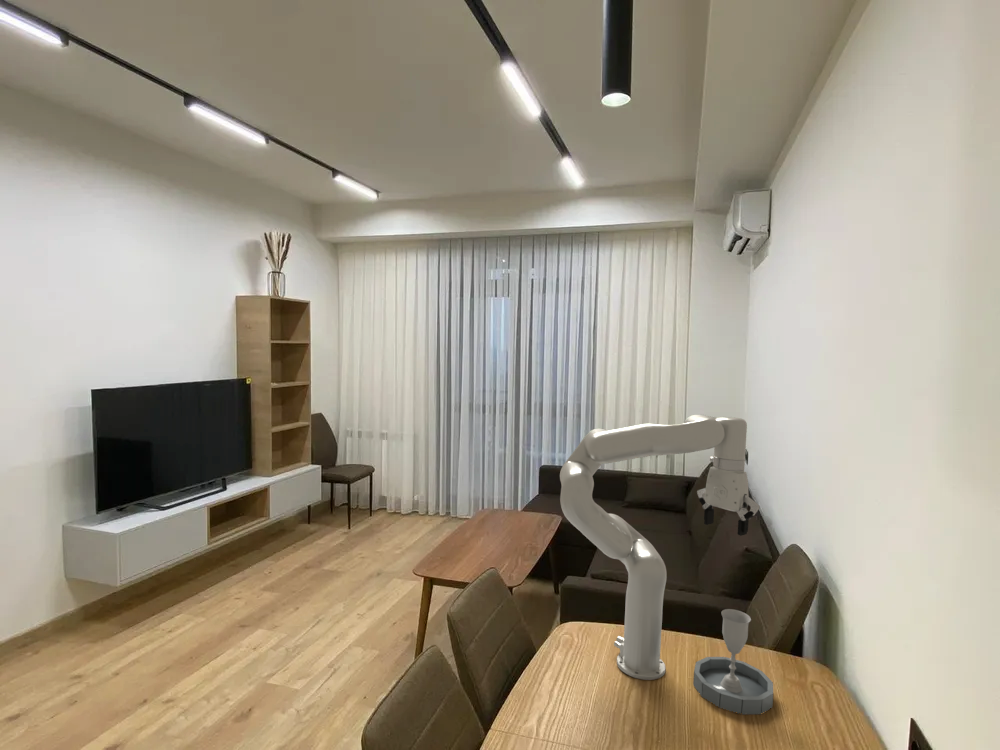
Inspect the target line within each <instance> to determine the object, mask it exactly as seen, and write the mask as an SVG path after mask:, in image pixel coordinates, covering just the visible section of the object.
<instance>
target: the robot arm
mask: <svg viewBox="0 0 1000 750" xmlns="http://www.w3.org/2000/svg"><path fill="white" fill-rule="evenodd" d="M747 429H748V425H747V421H746V420H745V419H743V418H740V417H732V416H720V417H717V416H710V415H706V414H705V415H704V414H692V415H690V416H687V418H686V419H685V420H684V421H683V423H680V424H679V423H678V424H655V423H641V424H637V425H636V424H635V425H631V426H626V427H621V428H615V429H610V430H609V429H608V430H607V429H604V428H600V427H599V428H594V429H591V430H590V431H589V432H588V433H587V434H586V435H584V437H583V439H582V440H581V441H580V443H579V444H578V445H577V447H575V449H574V450H573V451H572V453H571V454H570V456H569V457H568V458H567V459H566V461H565V462H564V463H563V465H562V467H561V469H560V470H559V471H560V473H559V481H560V484H561V488H560V496H559V500H560V507H561V510H562V513H563V515H564V517H565V518H566V520H568V522H570V524H571V525H572V526H573V527H575V528H576V529H577V530H578V531H579V532H580V533H581V534H582V535H583V536H584V537H586V539H588V540H589V542H591V543H592V544H593V545H594V546H596V548H597V549H599V550H600V552H602V553H603V554H604V555H606V556H607V557H608V558H610V559H614V560H619V561H620V562H621V563H622V564H623V565H624V566H625V569H626V571H627V575H628V577H627V579H628V580H627V587H626V592H625V605H624V606H625V609H624V610H625V611H624V627H623V628H624V630H623V631H624V632H623V636H621V635H618V636H617V637H616V639H615V640H616V641H614V642H613V646H614V647H616V648H617V649H619V654H618V655H617V657H616V666H617V667H618V668H619V670H620V671H621V672H623V673H624V674H625V675H628V676H630V677H632V678H634V679H639V680H644V681H645V680H646V681H651V680H652V681H653V680H657V679H660V678H662V677H663V676H664V675H665V674H666V664H665V662H664V661H663V660H662V658H661V644H662V625H663V624H662V623H663V606H664V595H665V589H666V583H667V578H668V577H667V575H668V574H667V567H666V564H665V561H664V559H662V557H661V555H660V553H659V552H658V551H657V550H656V548H655V546H654V545H653V544H652V543H651V542H650V541H649V540H648V539H647V538H645V536H643V535H642V534H641V533H640V532H639V531H637V530H636V529H635V528H634V527H633V526H632V525H631V524H629V522H627V521H626V520H624V518H622V516H621V517H620V516H619V515H617V514H615V513H608V512H607V511H605V510H604V508H602V507H601V506H600V505H599V504H597V503H596V502H595V500H594V499H593V491H594V487H595V482H594V477H593V476H594V475H595V473H596V472H597V471H598V469H600V466H602V465H603V464H605V465H606V464H608V465H609V464H613V463H619V462H624V461H630V460H635V459H640V458H645V457H652V456H658V457H659V456H668V455H681V454H690V453H695V452H700V451H705V450H710V449H714V450H713V456H710V458H709V461H710V462H712V466H710V467H709V470H708V474H707V478H706V484H705V487H703V488H701V489H697V491H696V493H697V494H696V495H697V496H698V497H697V498H698V500H699V503H700V504H701V505H702V509H703V511H704V512H703V519H704V521H703V523H704V525H705V526H707V525H712V524H714V519H715V508H713V507H716V508H719V509H723V510H726V511H730V512H736V513H737V516H738V517H739V518H740V519H738V522H737V535H738V536H739V537H741V536H745V535H747V534H748V532H749V523H750V522H749V520H751V519H752V518H753V517H755V516H756V514H757V513H758V511H759V510H760V507H761V506H760V505H759V504H758V503H757V502H756V501H754V500H753V499H752V498H751V497H749V483H748V482H749V481H748V475H747V474H748V473H747V472H746V471H745V468H746V467H745V466H746V465H745V464H746V463H745V462H746V447H747V446H746V445H747V432H748V431H747ZM748 506H749V507H750V509H749V511H748Z"/></svg>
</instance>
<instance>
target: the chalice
mask: <svg viewBox="0 0 1000 750" xmlns="http://www.w3.org/2000/svg"><path fill="white" fill-rule="evenodd" d="M721 616H722V628H721V629H722V630H721V633H722V636H723V637H722V638H723V640H724V643H725V646H726V648H727V650H728V652H729V653H730V654H731V656H730V657H729V658H730V661H731V665H730V666H729V668H730V671H731V672H730V674H727V675H725V676H724V678H723V680H722V682H721V686H722V687H723V688H724V689H726V690H727V691H730V692H735V693H738V692H741V691H742V687H741V683H740V680H739V679H738V677H737V676H735V675H734V671H735V669H736V667H735V662H736V660H737V658H736V655H737V654H740V652H741V651H742V649H744V647H745V645H746V643H747V642H748V641H747V640H748V636H749V624H750V622H751V621H752V619H751V616H750V615H749V614H747V613H745V612H743V611H741V610H738V609H734V608H725V609H723V610H722V611H721Z"/></svg>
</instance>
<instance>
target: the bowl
mask: <svg viewBox="0 0 1000 750" xmlns="http://www.w3.org/2000/svg"><path fill="white" fill-rule="evenodd" d="M730 658H731V657H727V656H706V657H704V658H702V659H699V660H697V661H696V662H695V665H694V669H693V670H694V671H693V682H692V683H693V684H692V685H693V687H694V688H695V689H696V691H697V693H698V694H699V693H700V694H699V695H700V697H702V698H703V699H704V698H705V699H704V700H706V699H707V700H706V701H707V702H709V701H710V702H709V703H711V702H712V703H713V705H714V704H715V705H714V706H715V707H717V706H718V708H719V709H722V708H723V709H722V710H725V709H726V711H728V710H729V712H732V711H733V713H735V712H737V713H736V714H739V713H740V714H739V715H762V714H761V713H763V712H764V713H766V712H767V711H769V710H771V709H773V705H774V704H773V703H774V681H772V680H771V679H770V678H769V677H768V675H767V674H766V673H765V672H763V671H762V670H760V669H759V668H756V667H755V666H754V665H751V664H749V663H747V662H745V661H743V660H739V659H736V662H735V667H736V669H735V671H734V675H735V676H737V677H738V679H739V680H740V683H741V687H742V691H741V692H738V693H735V692H730V691H727V690H726V689H724V688H723V687H722V686H721V682H722V680H723V678H724V676H725V675H727V674H730V672H731V671H730V668H729V666H730V665H731V661H730ZM712 703H711V704H712ZM770 708H771V709H770ZM765 711H766V712H765ZM741 713H742V714H741ZM764 713H763V714H764Z"/></svg>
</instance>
